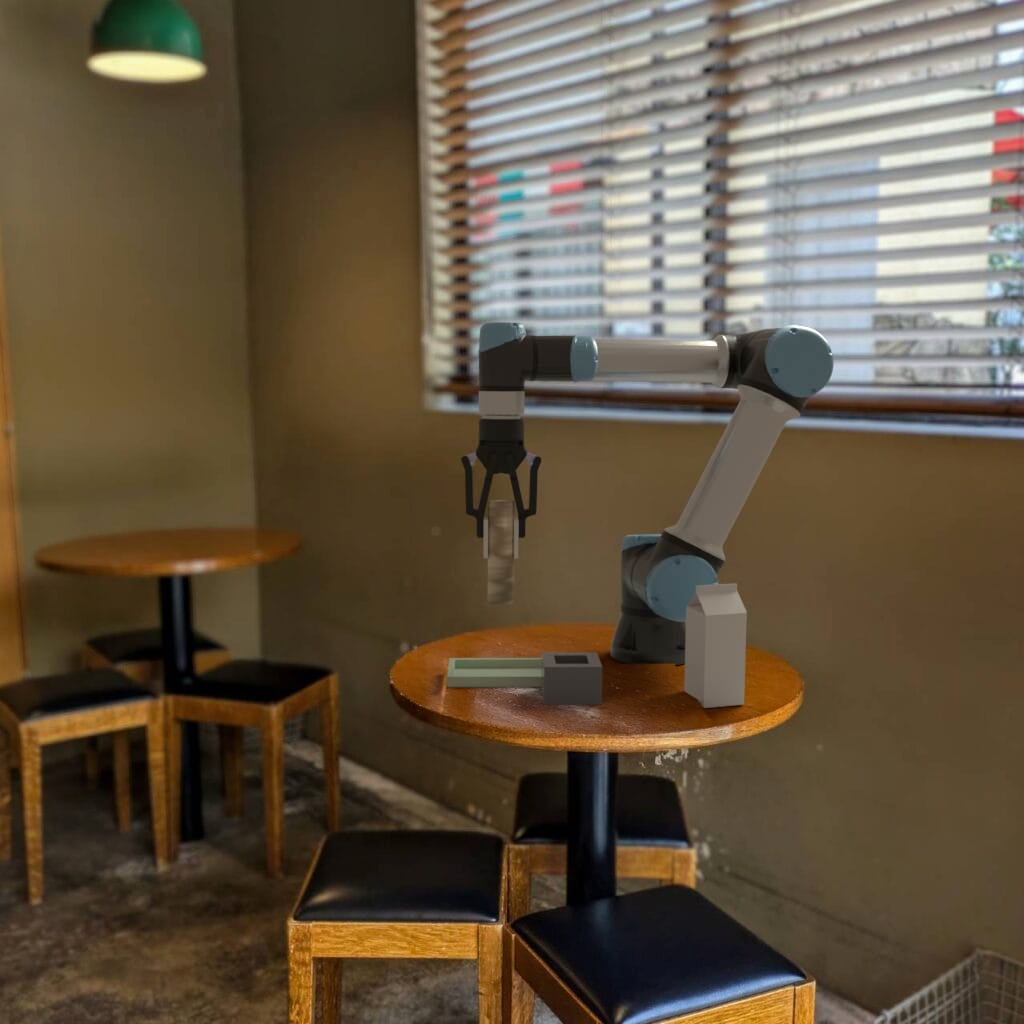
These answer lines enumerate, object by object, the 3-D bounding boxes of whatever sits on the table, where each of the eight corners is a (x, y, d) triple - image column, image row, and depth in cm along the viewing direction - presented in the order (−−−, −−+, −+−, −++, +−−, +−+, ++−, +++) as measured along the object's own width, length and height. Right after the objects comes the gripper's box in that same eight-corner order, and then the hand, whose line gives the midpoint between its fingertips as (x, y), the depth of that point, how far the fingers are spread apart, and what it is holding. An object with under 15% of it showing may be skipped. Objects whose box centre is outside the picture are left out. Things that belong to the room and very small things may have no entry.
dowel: (513, 599, 187) (514, 500, 185) (513, 604, 183) (514, 503, 181) (487, 599, 187) (487, 500, 185) (487, 604, 183) (487, 502, 181)
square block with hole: (596, 694, 180) (596, 652, 179) (601, 710, 171) (602, 666, 170) (541, 694, 180) (541, 652, 179) (544, 710, 171) (544, 667, 170)
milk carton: (744, 705, 174) (747, 587, 172) (703, 709, 172) (706, 590, 170) (723, 693, 181) (726, 579, 179) (683, 696, 179) (686, 581, 177)
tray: (552, 672, 193) (552, 657, 193) (556, 692, 181) (556, 676, 181) (449, 673, 193) (449, 658, 192) (446, 692, 181) (446, 676, 180)
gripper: (553, 416, 185) (551, 553, 188) (449, 416, 185) (449, 553, 188) (555, 418, 178) (554, 561, 181) (447, 417, 177) (448, 560, 180)
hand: (500, 556), depth 184 cm, fingers closed on dowel, 4 cm apart
